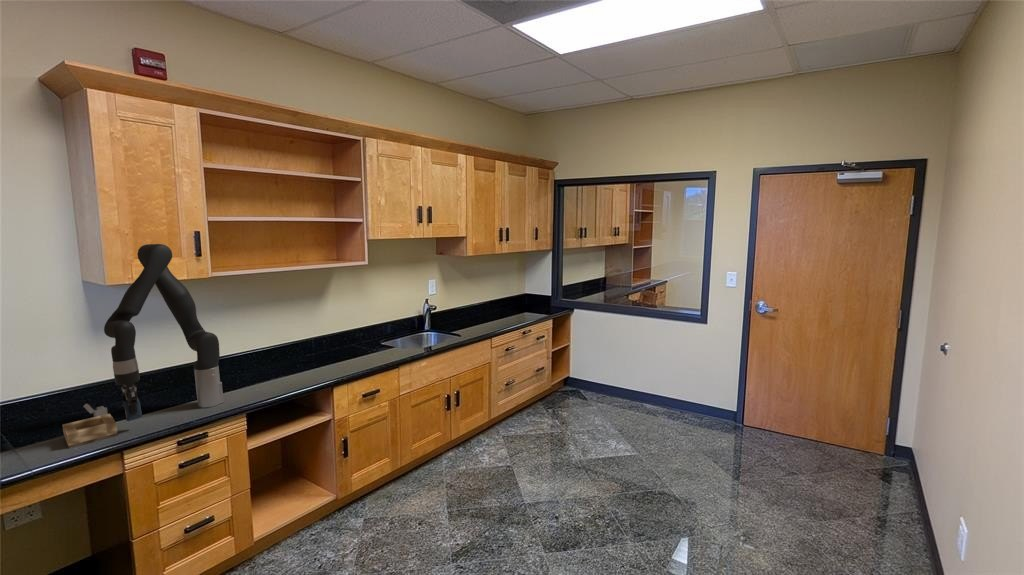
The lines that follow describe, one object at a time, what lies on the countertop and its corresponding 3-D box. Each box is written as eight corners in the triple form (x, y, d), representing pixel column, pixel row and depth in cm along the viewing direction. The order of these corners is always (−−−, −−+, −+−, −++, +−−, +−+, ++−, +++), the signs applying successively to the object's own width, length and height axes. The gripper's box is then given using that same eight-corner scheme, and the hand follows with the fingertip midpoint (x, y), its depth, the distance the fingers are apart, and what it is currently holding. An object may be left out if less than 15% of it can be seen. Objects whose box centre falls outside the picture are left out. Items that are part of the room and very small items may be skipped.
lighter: (106, 416, 202) (103, 398, 201) (108, 417, 201) (105, 399, 200) (85, 423, 196) (82, 404, 194) (87, 423, 195) (84, 405, 194)
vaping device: (124, 420, 187) (119, 391, 185) (141, 415, 191) (136, 387, 189) (126, 422, 185) (121, 392, 183) (143, 417, 189) (138, 388, 187)
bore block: (111, 425, 193) (109, 413, 192) (117, 435, 184) (116, 423, 183) (64, 437, 183) (62, 424, 182) (68, 448, 174) (66, 435, 173)
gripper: (142, 371, 183) (149, 414, 186) (134, 364, 192) (140, 405, 195) (117, 376, 177) (124, 420, 180) (110, 369, 187) (117, 411, 189)
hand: (132, 412), depth 188 cm, fingers closed on vaping device, 2 cm apart
